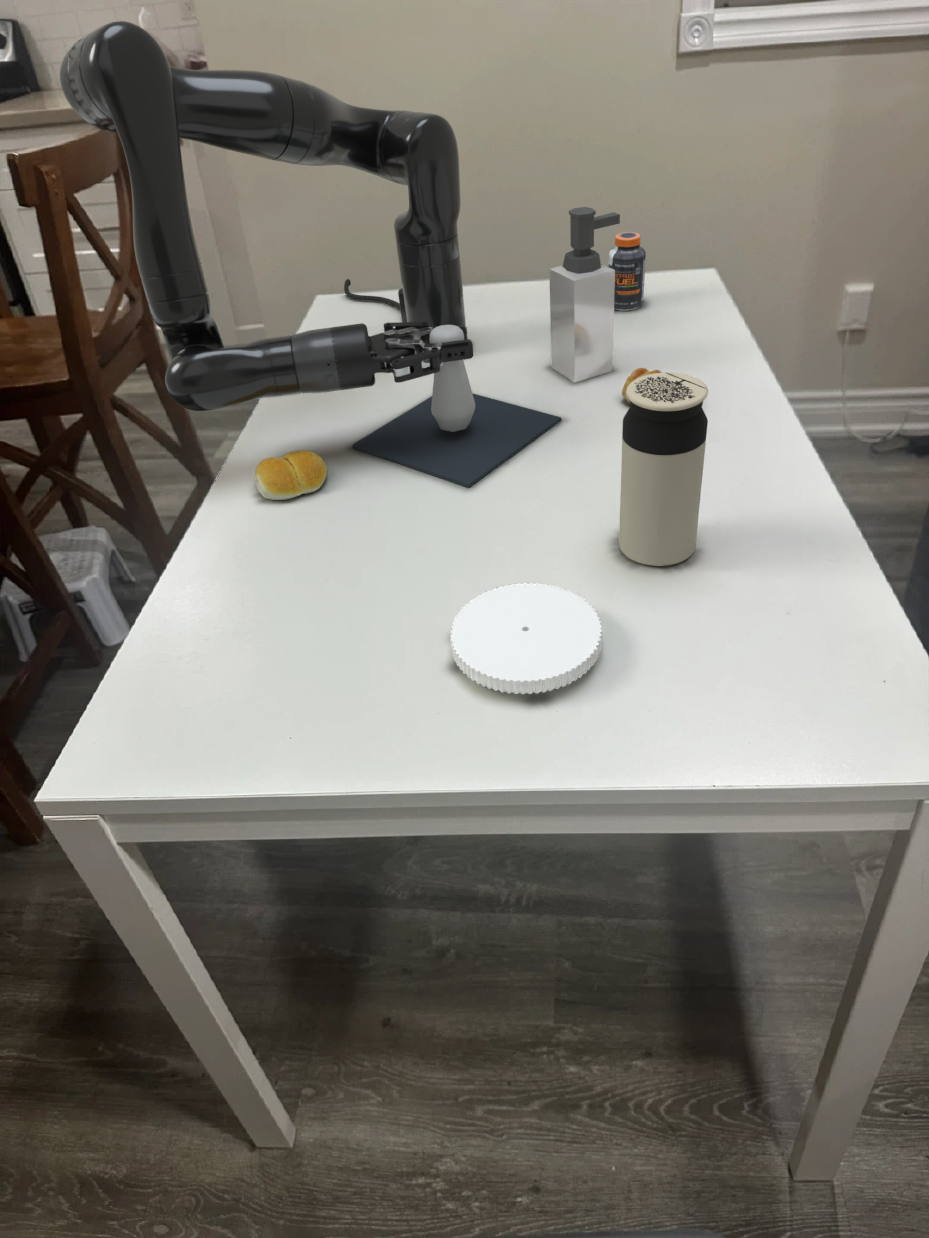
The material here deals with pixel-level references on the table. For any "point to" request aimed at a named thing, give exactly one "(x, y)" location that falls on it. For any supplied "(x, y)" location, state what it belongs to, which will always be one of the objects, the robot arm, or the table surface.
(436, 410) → the salt shaker
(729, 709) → the table surface
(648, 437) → the travel mug
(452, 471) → the mat
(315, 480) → the bread roll
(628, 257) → the pill bottle
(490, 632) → the plastic lid
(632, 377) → the pastry
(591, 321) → the soap dispenser
